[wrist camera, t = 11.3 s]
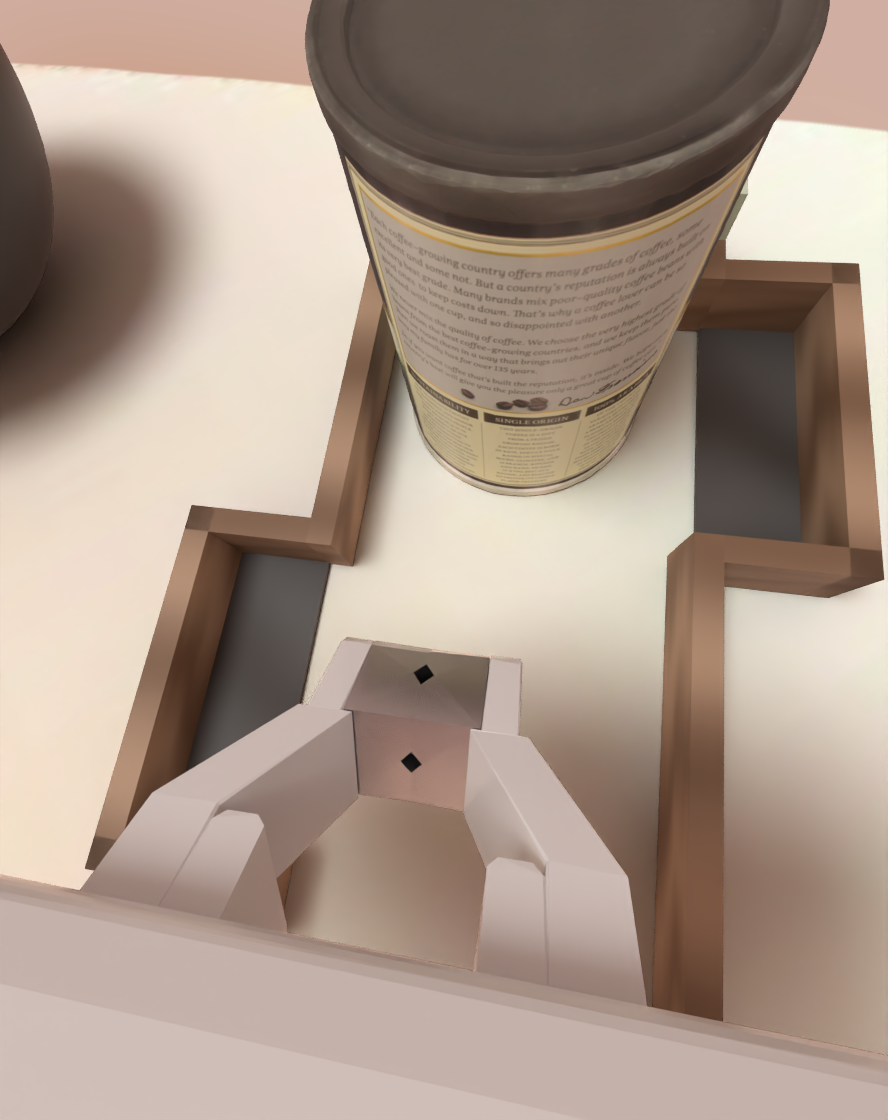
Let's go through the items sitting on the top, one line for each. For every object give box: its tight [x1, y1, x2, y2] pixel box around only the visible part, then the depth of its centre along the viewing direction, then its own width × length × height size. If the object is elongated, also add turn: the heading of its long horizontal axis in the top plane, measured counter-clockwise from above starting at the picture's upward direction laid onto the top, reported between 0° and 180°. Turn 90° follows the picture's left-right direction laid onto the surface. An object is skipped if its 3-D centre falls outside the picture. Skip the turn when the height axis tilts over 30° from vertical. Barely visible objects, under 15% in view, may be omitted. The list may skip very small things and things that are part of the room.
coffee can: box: [305, 0, 830, 496], centre depth 17 cm, size 10×10×14 cm
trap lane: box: [85, 240, 884, 1022], centre depth 20 cm, size 29×25×3 cm
